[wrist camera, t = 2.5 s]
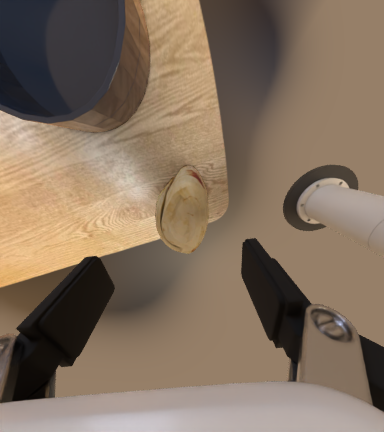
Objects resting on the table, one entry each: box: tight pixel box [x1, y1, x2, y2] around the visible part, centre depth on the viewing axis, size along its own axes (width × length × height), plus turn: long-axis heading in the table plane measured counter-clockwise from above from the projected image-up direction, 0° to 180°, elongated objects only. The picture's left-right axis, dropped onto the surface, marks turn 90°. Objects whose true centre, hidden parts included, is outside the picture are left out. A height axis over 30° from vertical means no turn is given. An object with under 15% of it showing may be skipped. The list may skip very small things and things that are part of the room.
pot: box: [0, 0, 150, 133], centre depth 18 cm, size 24×24×10 cm
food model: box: [155, 165, 209, 254], centre depth 23 cm, size 10×7×20 cm
